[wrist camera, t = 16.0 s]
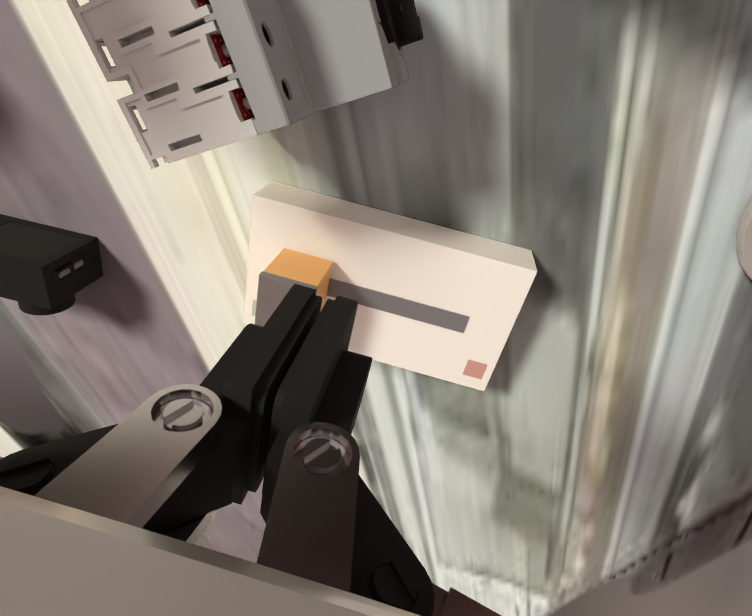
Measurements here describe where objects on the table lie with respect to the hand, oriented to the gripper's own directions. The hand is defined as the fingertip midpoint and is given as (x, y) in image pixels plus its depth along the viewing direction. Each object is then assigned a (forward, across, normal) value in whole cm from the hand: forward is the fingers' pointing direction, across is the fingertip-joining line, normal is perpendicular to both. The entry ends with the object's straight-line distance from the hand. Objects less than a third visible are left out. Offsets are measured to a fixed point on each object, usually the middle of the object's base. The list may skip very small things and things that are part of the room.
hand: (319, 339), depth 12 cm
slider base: (+27, 0, +12) cm, 30 cm away
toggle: (+23, +6, +12) cm, 26 cm away
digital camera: (+27, +33, +19) cm, 47 cm away
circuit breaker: (+27, +8, -5) cm, 29 cm away
